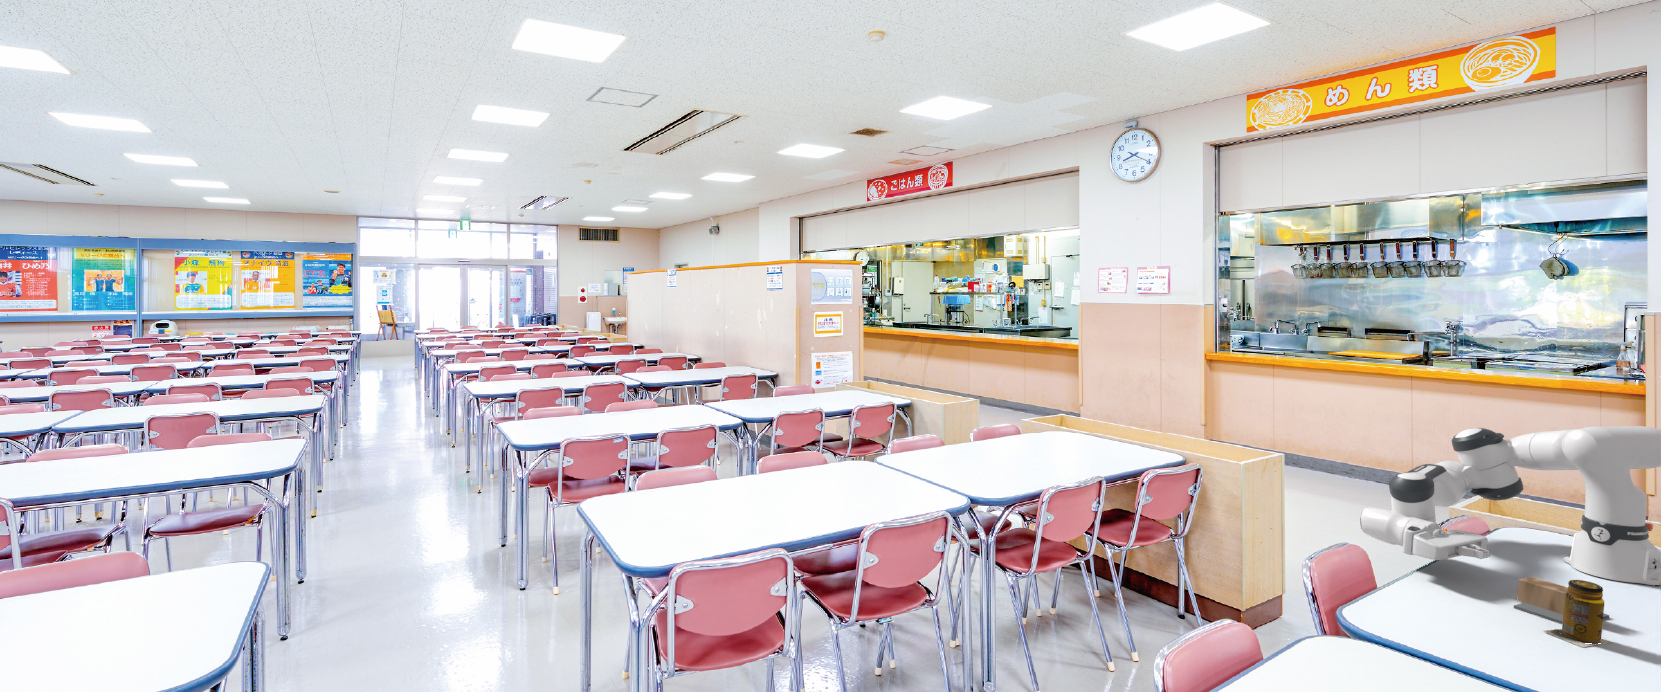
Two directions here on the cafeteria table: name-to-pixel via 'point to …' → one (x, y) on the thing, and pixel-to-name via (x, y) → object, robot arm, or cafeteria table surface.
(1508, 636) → the cafeteria table surface
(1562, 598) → the block
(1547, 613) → the mat
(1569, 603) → the condiment
